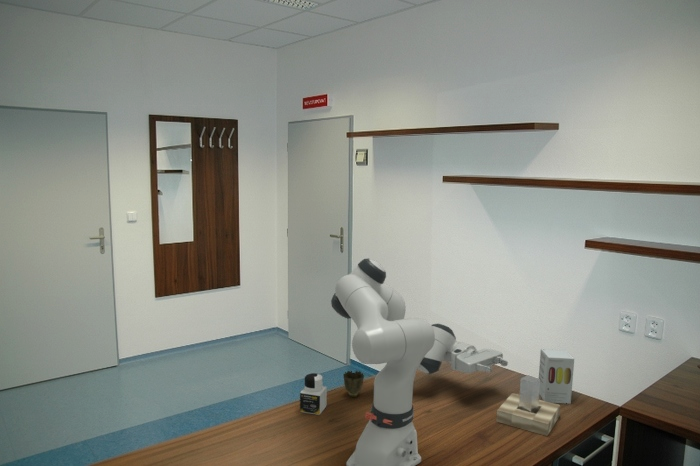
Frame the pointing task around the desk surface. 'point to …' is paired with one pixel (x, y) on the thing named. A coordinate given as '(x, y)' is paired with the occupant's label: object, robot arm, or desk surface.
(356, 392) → the cup
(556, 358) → the supplement box
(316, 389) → the medicine bottle
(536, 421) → the square nut
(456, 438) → the desk surface
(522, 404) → the steel peg
